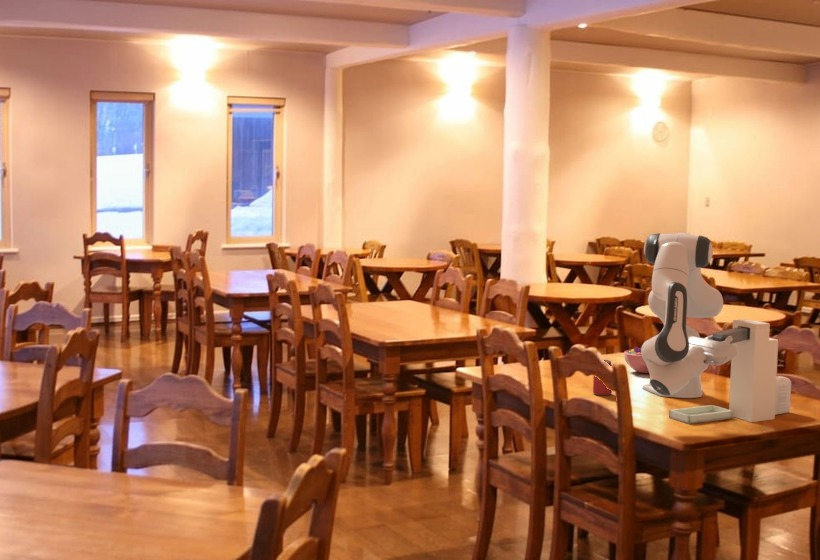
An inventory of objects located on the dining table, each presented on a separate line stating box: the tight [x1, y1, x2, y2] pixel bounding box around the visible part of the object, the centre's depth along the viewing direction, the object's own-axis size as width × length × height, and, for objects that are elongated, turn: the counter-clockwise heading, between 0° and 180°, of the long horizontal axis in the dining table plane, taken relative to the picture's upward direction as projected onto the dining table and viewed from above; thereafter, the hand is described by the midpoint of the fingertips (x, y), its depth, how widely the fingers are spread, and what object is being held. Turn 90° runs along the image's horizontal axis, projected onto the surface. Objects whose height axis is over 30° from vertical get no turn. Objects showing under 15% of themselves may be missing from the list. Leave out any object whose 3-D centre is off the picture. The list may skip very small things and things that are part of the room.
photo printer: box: [775, 375, 792, 416], centre depth 347 cm, size 10×4×12 cm, turn 123°
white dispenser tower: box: [728, 318, 779, 423], centre depth 340 cm, size 10×10×32 cm
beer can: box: [592, 359, 613, 397], centre depth 374 cm, size 7×7×12 cm
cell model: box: [623, 346, 649, 374], centre depth 416 cm, size 17×20×11 cm
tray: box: [668, 404, 734, 425], centre depth 339 cm, size 9×18×2 cm, turn 117°
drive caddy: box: [712, 326, 750, 344], centre depth 334 cm, size 4×13×4 cm, turn 117°
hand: (724, 336), depth 332 cm, fingers closed on drive caddy, 4 cm apart
